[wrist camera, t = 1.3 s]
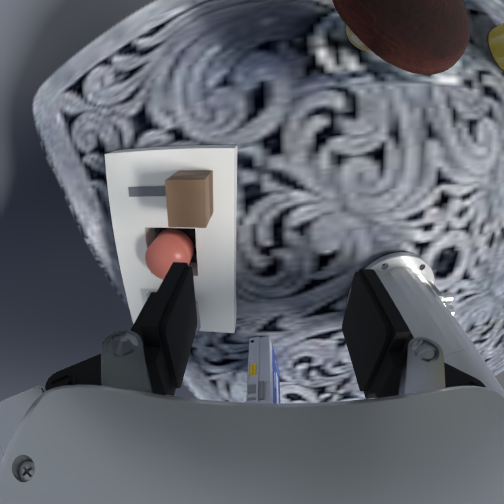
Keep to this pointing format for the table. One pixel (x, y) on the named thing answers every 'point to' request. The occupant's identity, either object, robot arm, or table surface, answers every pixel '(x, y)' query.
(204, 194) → the walnut slider
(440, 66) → the decorative mushroom
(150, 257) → the red button
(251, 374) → the walkman
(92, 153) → the table surface
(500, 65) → the plant pot
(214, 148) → the control panel
